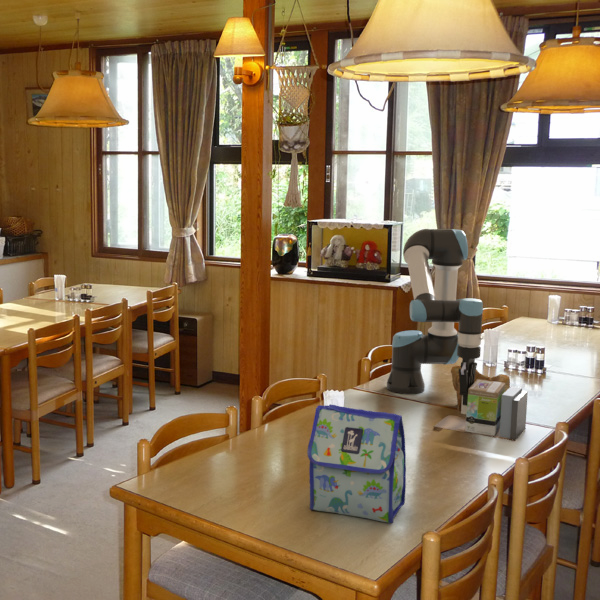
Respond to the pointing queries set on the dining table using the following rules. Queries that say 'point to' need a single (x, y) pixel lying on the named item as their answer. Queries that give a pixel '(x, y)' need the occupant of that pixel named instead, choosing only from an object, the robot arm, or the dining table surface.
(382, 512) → the lunch bag
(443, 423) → the shelf board
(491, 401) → the tea box
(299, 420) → the dining table surface
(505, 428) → the grey upright block
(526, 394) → the gray square slab
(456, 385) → the rough brown rock
